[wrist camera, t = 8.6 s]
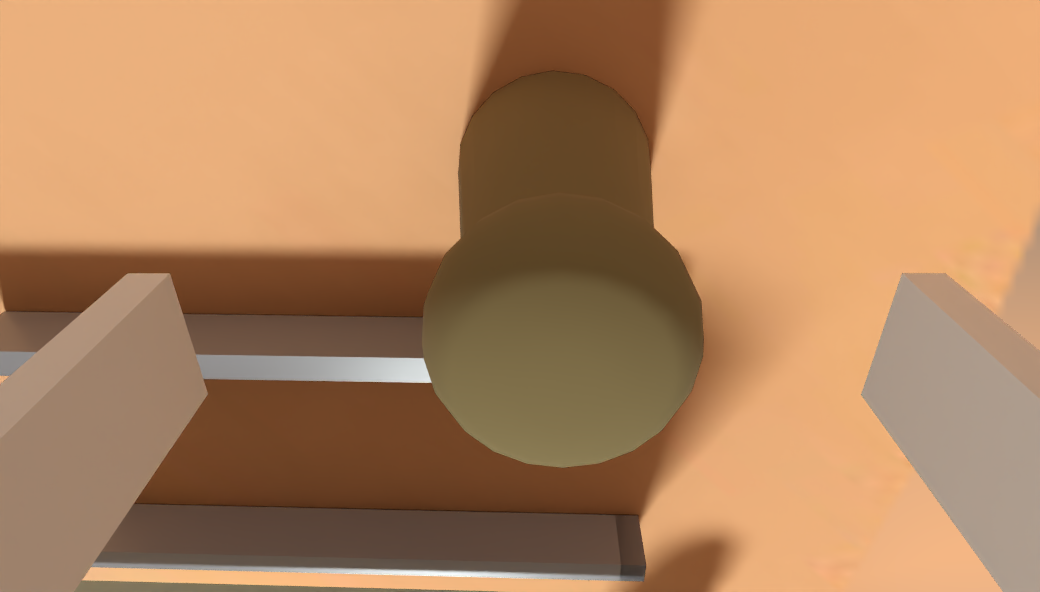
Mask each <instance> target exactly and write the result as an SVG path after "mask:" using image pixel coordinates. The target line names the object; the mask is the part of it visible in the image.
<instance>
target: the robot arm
mask: <svg viewBox="0 0 1040 592" xmlns="http://www.w3.org/2000/svg"><path fill="white" fill-rule="evenodd" d="M207 395H208V392H207V389H206V386H205V383H204V379H203V376H202V373H201V370H200V367H199V364H198V360H197V357H196V354H195V351H194V348H193V345H192V342H191V338H190V335H189V332H188V329H187V326H186V323H185V319H184V316H183V313H182V310H181V307H180V304H179V300H178V297H177V294H176V291H175V288H174V285H173V281H172V278H171V275H170V273H127V274H126V275H125V276H124V277H123V278H122V279H120V280H119V281H118V282H117V283H116V284H115V285H114V286H112V287H111V288H110V289H109V290H108V291H107V292H106V293H104V294H103V295H102V296H101V297H100V298H99V299H97V300H96V301H95V302H94V303H93V304H92V305H91V306H89V307H88V308H87V309H86V310H85V311H84V312H83V313H81V314H80V315H79V316H78V317H77V318H76V319H75V320H73V321H72V322H71V323H70V324H69V325H68V326H66V327H65V328H64V329H63V330H62V331H61V332H60V333H58V334H57V335H56V336H55V337H54V338H53V339H52V340H50V341H49V342H48V343H47V344H46V345H45V346H44V347H42V348H41V349H40V350H39V351H38V352H37V353H35V354H34V355H33V356H32V357H31V358H30V359H29V360H27V361H26V362H25V363H24V364H23V365H22V366H21V367H19V368H18V369H17V370H16V371H15V372H14V373H13V374H11V375H10V376H9V377H8V378H7V379H6V380H4V381H3V382H2V383H1V384H0V592H74V591H75V590H76V588H77V587H78V585H79V584H80V582H81V581H82V579H83V578H84V576H85V575H86V573H87V572H88V570H89V569H90V567H91V566H92V564H93V563H94V562H95V560H96V559H97V557H98V556H99V554H100V553H101V551H102V550H103V548H104V547H105V545H106V544H107V542H108V541H109V539H110V538H111V536H112V535H113V534H114V532H115V531H116V529H117V528H118V526H119V525H120V523H121V522H122V520H123V519H124V517H125V516H126V514H127V513H128V511H129V510H130V508H131V507H132V506H133V504H134V503H135V501H136V500H137V498H138V497H139V495H140V494H141V492H142V491H143V489H144V488H145V486H146V485H147V483H148V482H149V480H150V479H151V477H152V476H153V475H154V473H155V472H156V470H157V469H158V467H159V466H160V464H161V463H162V461H163V460H164V458H165V457H166V455H167V454H168V452H169V451H170V449H171V448H172V447H173V445H174V444H175V442H176V441H177V439H178V438H179V436H180V435H181V433H182V432H183V430H184V429H185V427H186V426H187V424H188V423H189V421H190V420H191V419H192V417H193V416H194V414H195V413H196V411H197V410H198V408H199V407H200V405H201V404H202V402H203V401H204V399H205V398H206V396H207ZM861 395H862V397H863V398H864V399H865V401H866V402H867V404H868V405H869V406H870V408H871V409H872V411H873V412H874V413H875V415H876V416H877V417H878V419H879V420H880V422H881V423H882V424H883V426H884V427H885V429H886V430H887V431H888V433H889V434H890V436H891V437H892V438H893V440H894V441H895V442H896V444H897V445H898V447H899V448H900V449H901V451H902V452H903V454H904V455H905V456H906V458H907V459H908V460H909V462H910V463H911V465H912V466H913V467H914V469H915V470H916V472H917V473H918V474H919V476H920V477H921V479H922V480H923V481H924V482H925V484H926V485H927V487H928V488H929V490H930V491H931V492H932V494H933V495H934V497H935V498H936V499H937V501H938V502H939V503H940V505H941V506H942V508H943V509H944V510H945V512H946V513H947V515H948V516H949V517H950V519H951V520H952V522H953V523H954V524H955V526H956V527H957V528H958V530H959V531H960V532H961V534H962V535H963V537H964V538H965V539H966V541H967V542H968V543H969V545H970V546H971V548H972V549H973V551H974V552H975V553H976V555H977V556H978V557H979V559H980V560H981V562H982V563H983V565H984V566H985V567H986V569H987V570H988V571H989V573H990V574H991V576H992V577H993V578H994V580H995V581H996V583H997V584H998V585H999V586H1000V588H1001V589H1002V591H1003V592H1040V351H1039V350H1038V349H1037V348H1036V347H1035V346H1033V345H1032V344H1031V343H1030V342H1028V341H1027V340H1026V339H1025V338H1023V337H1022V336H1021V335H1020V334H1019V333H1017V332H1016V331H1015V330H1014V329H1013V328H1011V327H1010V326H1009V325H1008V324H1007V323H1005V322H1004V321H1003V320H1002V319H1000V318H999V317H998V316H997V315H996V314H994V313H993V312H992V311H991V310H989V309H988V308H987V307H986V306H985V305H983V304H982V303H981V302H980V301H978V300H977V299H976V298H975V297H974V296H972V295H971V294H970V293H969V292H968V291H966V290H965V289H964V288H963V287H961V286H960V285H959V284H958V283H957V282H955V281H954V280H953V279H952V278H950V277H949V276H948V275H947V274H946V273H902V275H901V278H900V281H899V284H898V287H897V290H896V293H895V296H894V299H893V302H892V305H891V308H890V311H889V314H888V317H887V320H886V323H885V326H884V329H883V331H882V334H881V337H880V340H879V343H878V346H877V349H876V352H875V355H874V358H873V361H872V364H871V367H870V370H869V373H868V376H867V379H866V382H865V385H864V388H863V391H862V394H861Z"/></svg>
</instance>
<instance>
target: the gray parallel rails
mask: <svg viewBox="0 0 1040 592" xmlns="http://www.w3.org/2000/svg"><path fill="white" fill-rule="evenodd" d="M80 314H81V313H80V312H9V311H4V312H3V313H2V314H0V375H1V376H10V375H11V374H13V373H14V372H15V371H16V370H17V369H18V368H19V367H21V366H22V365H23V364H24V363H25V362H26V361H27V360H29V359H30V358H31V357H32V356H33V355H34V354H35V353H37V352H38V351H39V350H40V349H41V348H42V347H44V346H45V345H46V344H47V343H48V342H49V341H50V340H52V339H53V338H54V337H55V336H56V335H57V334H58V333H60V332H61V331H62V330H63V329H64V328H65V327H66V326H68V325H69V324H70V323H71V322H72V321H73V320H75V319H76V318H77V317H78V316H79V315H80ZM183 316H184V319H185V323H186V326H187V329H188V332H189V335H190V338H191V342H192V345H193V348H194V351H195V354H196V357H197V360H198V364H199V367H200V370H201V373H202V376H203V379H235V380H294V381H352V382H411V383H432V382H431V379H430V376H429V373H428V370H427V367H426V364H425V361H424V356H423V349H422V327H423V317H365V316H294V315H223V314H183ZM91 567H108V568H147V569H186V570H224V571H263V572H301V573H340V574H378V575H417V576H456V577H494V578H533V579H571V580H610V581H644V577H645V570H646V561H645V555H644V549H643V542H642V536H641V530H640V524H639V518H638V515H597V514H553V513H510V512H466V511H422V510H379V509H335V508H292V507H248V506H204V505H161V504H133V506H132V507H131V508H130V510H129V511H128V513H127V514H126V516H125V517H124V519H123V520H122V522H121V523H120V525H119V526H118V528H117V529H116V531H115V532H114V534H113V535H112V536H111V538H110V539H109V541H108V542H107V544H106V545H105V547H104V548H103V550H102V551H101V553H100V554H99V556H98V557H97V559H96V560H95V562H94V563H93V564H92V566H91Z"/></svg>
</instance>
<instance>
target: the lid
mask: <svg viewBox="0 0 1040 592" xmlns="http://www.w3.org/2000/svg"><path fill="white" fill-rule="evenodd" d="M74 592H496V591H458V590H421V589H383V588H345V587H308V586H270V585H232V584H195V583H157V582H120V581H81V582H80V584H79V585H78V587H77V588H76V590H75V591H74Z"/></svg>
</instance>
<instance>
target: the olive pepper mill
mask: <svg viewBox="0 0 1040 592" xmlns="http://www.w3.org/2000/svg"><path fill="white" fill-rule="evenodd" d="M458 179H459V206H460V232H461V239H460V240H459V241H458V242H457V243H456V244H455V245H454V246H453V247H452V248H451V249H450V250H449V251H448V252H447V253H446V254H445V256H444V258H443V260H442V262H441V264H440V267H439V269H438V271H437V273H436V276H435V278H434V280H433V282H432V284H431V287H430V289H429V291H428V294H427V297H426V300H425V303H424V308H423V327H422V349H423V356H424V361H425V364H426V367H427V370H428V373H429V376H430V379H431V382H432V385H433V389H434V392H435V394H436V395H437V396H438V398H439V399H440V400H441V401H442V403H443V404H444V405H445V407H446V408H447V409H448V410H449V412H450V413H451V414H452V416H453V417H454V418H455V419H456V421H457V422H458V423H459V424H460V426H461V427H462V428H463V429H464V431H465V432H467V433H468V434H469V435H471V436H472V437H474V438H475V439H476V440H478V441H479V442H481V443H482V444H484V445H485V446H486V447H488V448H489V449H491V450H492V451H494V452H496V453H499V454H502V455H505V456H507V457H510V458H513V459H516V460H518V461H521V462H524V463H526V464H534V465H543V466H552V467H561V468H565V467H573V466H582V465H590V464H598V463H602V462H604V461H607V460H610V459H613V458H615V457H618V456H621V455H623V454H626V453H629V452H631V451H634V450H635V449H636V448H638V447H639V446H641V445H642V444H644V443H645V442H646V441H648V440H649V439H651V438H652V437H653V436H655V435H656V434H658V433H659V432H660V431H662V430H663V428H664V427H665V426H666V424H667V423H668V422H669V421H670V419H671V418H672V417H673V415H674V414H675V413H676V411H677V410H678V409H679V408H680V406H681V405H682V404H683V402H684V401H685V399H686V398H687V397H688V395H689V394H690V392H691V391H692V388H693V385H694V382H695V379H696V376H697V373H698V370H699V367H700V364H701V361H702V358H703V343H704V336H703V320H702V304H701V299H700V297H699V295H698V293H697V291H696V289H695V286H694V284H693V282H692V280H691V278H690V276H689V274H688V272H687V270H686V267H685V265H684V263H683V261H682V259H681V257H680V255H679V253H678V251H677V250H676V249H675V248H674V247H673V246H672V245H671V244H670V243H669V242H668V241H667V240H666V239H665V238H664V237H663V236H662V235H661V234H660V233H659V232H658V231H657V230H656V229H654V223H653V203H652V183H651V166H650V155H649V145H648V138H647V136H646V134H645V132H644V130H643V127H642V125H641V123H640V121H639V119H638V117H637V114H636V112H635V111H634V110H633V109H632V108H631V107H630V106H629V105H628V104H627V103H626V102H625V101H624V100H623V99H622V97H621V96H620V95H619V94H618V93H617V92H616V91H615V90H614V89H612V88H610V87H608V86H606V85H604V84H602V83H600V82H598V81H596V80H594V79H592V78H590V77H588V76H586V75H581V74H573V73H566V72H558V71H549V72H544V73H539V74H534V75H529V76H524V77H520V78H518V79H517V80H515V81H513V82H511V83H510V84H508V85H506V86H504V87H503V88H501V89H499V90H497V91H496V92H494V93H493V94H492V95H491V96H490V97H489V98H488V99H487V100H486V101H485V103H484V104H483V105H482V106H481V107H480V108H479V109H478V110H477V112H476V113H475V114H474V115H473V116H472V118H471V121H470V123H469V125H468V128H467V130H466V132H465V135H464V137H463V139H462V142H461V144H460V157H459V170H458Z"/></svg>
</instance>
